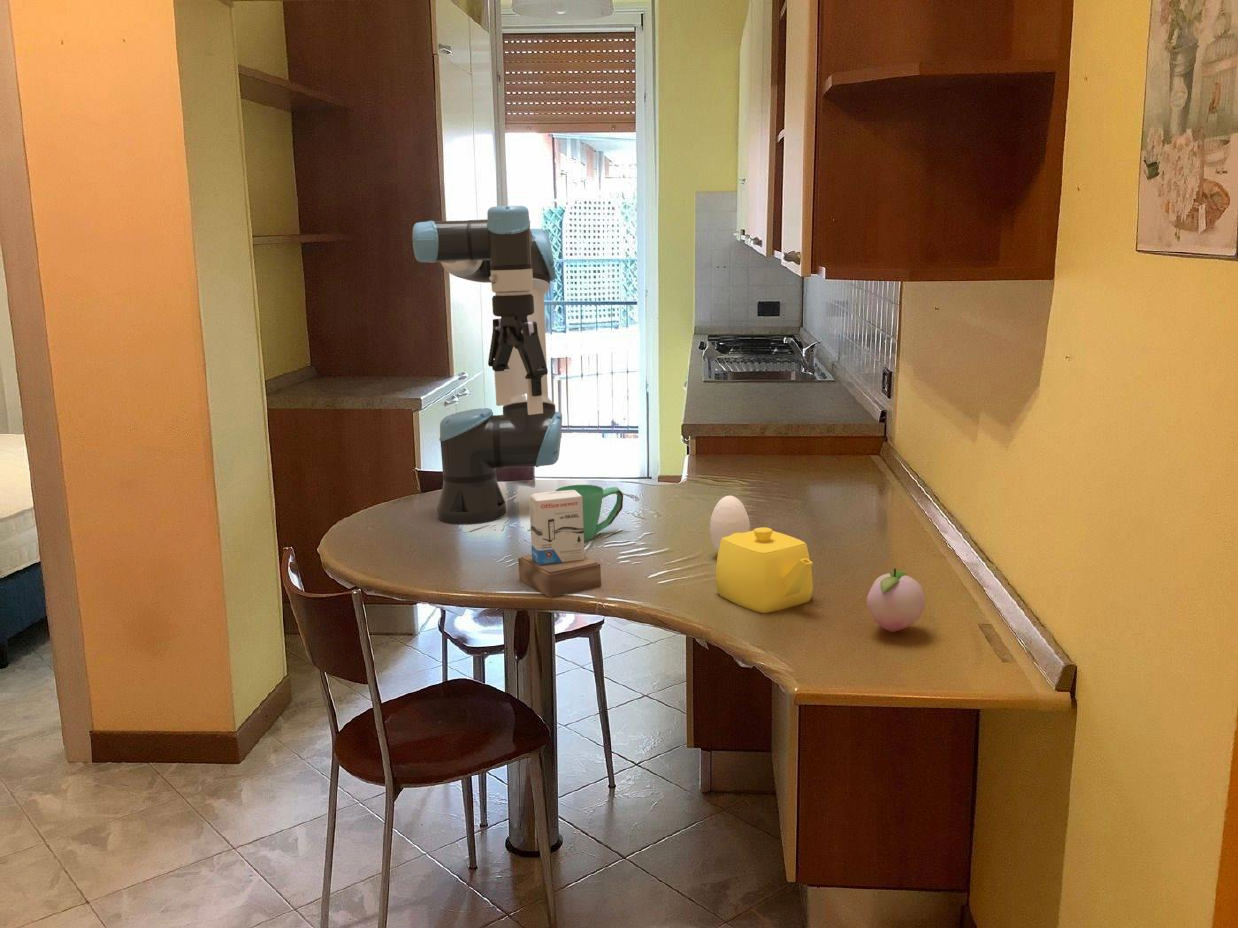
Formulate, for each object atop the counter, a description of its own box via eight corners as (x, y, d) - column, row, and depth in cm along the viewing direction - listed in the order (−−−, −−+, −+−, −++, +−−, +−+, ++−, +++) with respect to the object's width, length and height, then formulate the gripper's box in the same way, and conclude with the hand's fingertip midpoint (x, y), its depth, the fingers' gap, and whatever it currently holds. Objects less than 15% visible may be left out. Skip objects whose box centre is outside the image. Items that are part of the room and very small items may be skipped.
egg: (702, 556, 196) (701, 496, 193) (729, 548, 200) (728, 489, 198) (730, 565, 190) (729, 503, 188) (758, 556, 195) (757, 495, 192)
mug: (569, 547, 204) (566, 498, 202) (549, 536, 213) (546, 488, 211) (634, 536, 211) (633, 488, 209) (613, 525, 219) (611, 479, 217)
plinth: (519, 579, 186) (518, 556, 185) (568, 568, 191) (567, 546, 190) (550, 597, 176) (548, 573, 175) (601, 585, 181) (600, 562, 180)
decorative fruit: (920, 646, 150) (922, 580, 148) (863, 640, 153) (864, 575, 151) (927, 624, 159) (929, 561, 156) (872, 618, 162) (873, 557, 159)
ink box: (538, 566, 179) (534, 500, 177) (531, 558, 184) (527, 493, 182) (585, 559, 182) (583, 494, 179) (578, 552, 187) (575, 488, 184)
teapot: (837, 607, 167) (837, 537, 164) (777, 624, 161) (777, 551, 158) (757, 576, 184) (757, 511, 181) (701, 590, 177) (699, 523, 175)
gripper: (466, 293, 197) (473, 403, 202) (524, 296, 176) (530, 420, 181) (502, 290, 201) (508, 399, 205) (563, 294, 180) (568, 415, 184)
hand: (519, 409), depth 193 cm, fingers open, 13 cm apart
